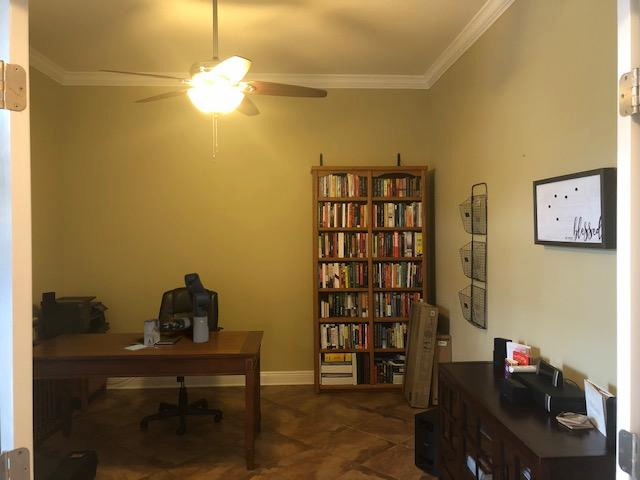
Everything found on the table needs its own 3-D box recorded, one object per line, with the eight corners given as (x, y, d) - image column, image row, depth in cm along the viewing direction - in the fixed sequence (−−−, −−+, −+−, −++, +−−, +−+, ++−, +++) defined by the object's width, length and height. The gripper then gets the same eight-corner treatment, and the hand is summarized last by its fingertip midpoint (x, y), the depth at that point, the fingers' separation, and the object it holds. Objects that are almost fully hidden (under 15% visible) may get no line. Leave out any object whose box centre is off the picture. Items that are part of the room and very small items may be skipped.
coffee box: (151, 341, 315) (151, 318, 314) (160, 342, 313) (160, 318, 313) (143, 345, 306) (143, 321, 305) (152, 345, 304) (152, 321, 304)
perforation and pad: (141, 344, 307) (141, 343, 307) (157, 347, 299) (157, 346, 299) (124, 348, 295) (124, 347, 295) (141, 352, 288) (141, 351, 288)
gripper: (174, 317, 336) (156, 321, 322) (188, 319, 329) (171, 323, 315) (174, 327, 336) (156, 331, 322) (188, 329, 329) (171, 334, 315)
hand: (164, 327), depth 318 cm, fingers open, 8 cm apart
